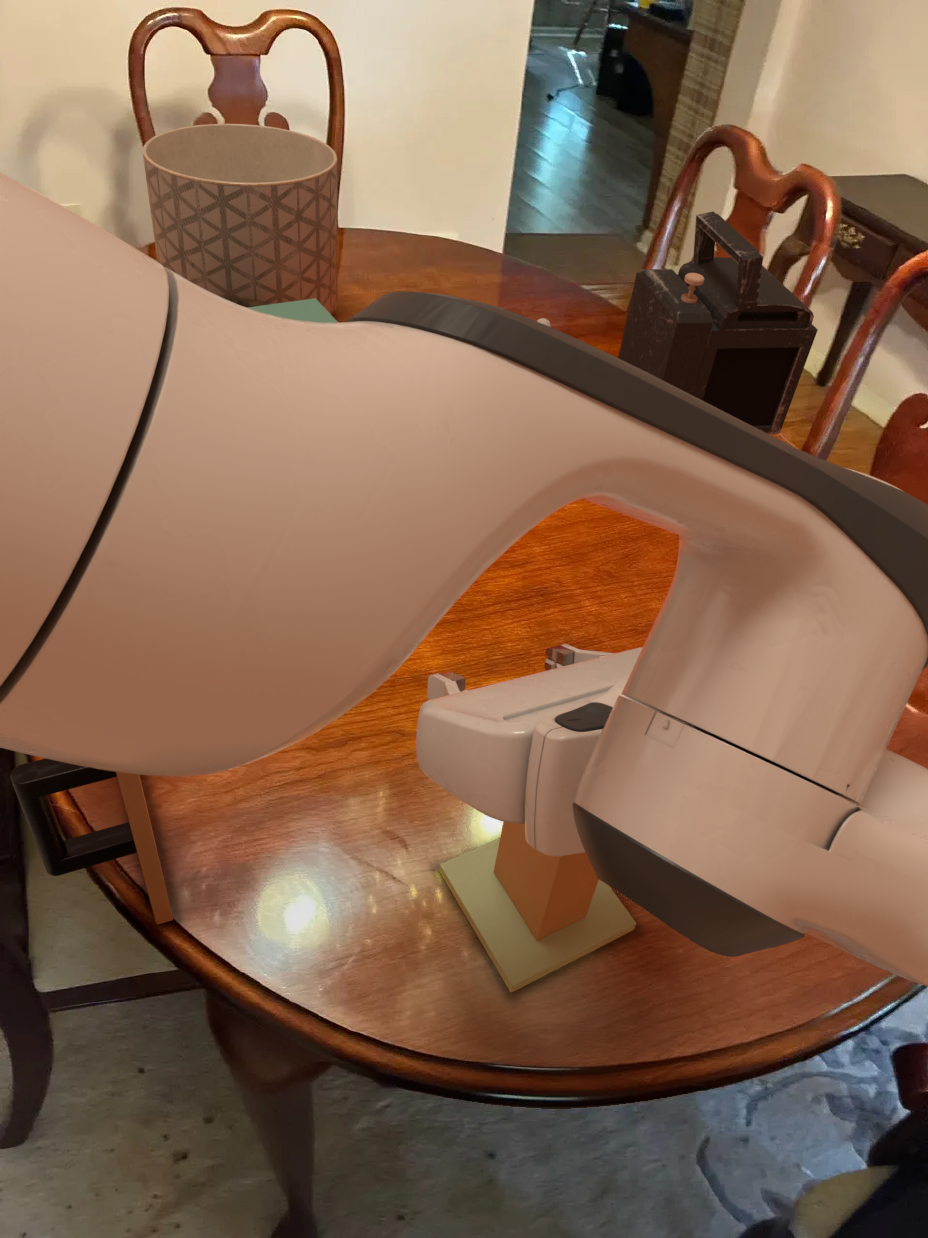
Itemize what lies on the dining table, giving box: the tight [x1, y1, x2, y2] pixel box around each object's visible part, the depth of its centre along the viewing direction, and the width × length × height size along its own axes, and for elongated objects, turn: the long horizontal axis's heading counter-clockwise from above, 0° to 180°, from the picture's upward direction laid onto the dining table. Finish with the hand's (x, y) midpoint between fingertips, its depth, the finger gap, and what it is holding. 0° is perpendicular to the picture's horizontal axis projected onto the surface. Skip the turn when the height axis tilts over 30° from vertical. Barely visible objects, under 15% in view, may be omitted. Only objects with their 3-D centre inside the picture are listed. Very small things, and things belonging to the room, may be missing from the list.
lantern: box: [617, 211, 819, 435], centre depth 109 cm, size 15×18×30 cm
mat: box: [438, 837, 637, 994], centre depth 71 cm, size 11×11×1 cm
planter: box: [142, 123, 339, 315], centre depth 130 cm, size 25×25×24 cm
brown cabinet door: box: [9, 758, 174, 926], centre depth 67 cm, size 7×28×24 cm, turn 24°
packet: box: [493, 821, 599, 941], centre depth 66 cm, size 4×6×12 cm
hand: (497, 669), depth 58 cm, fingers open, 8 cm apart
